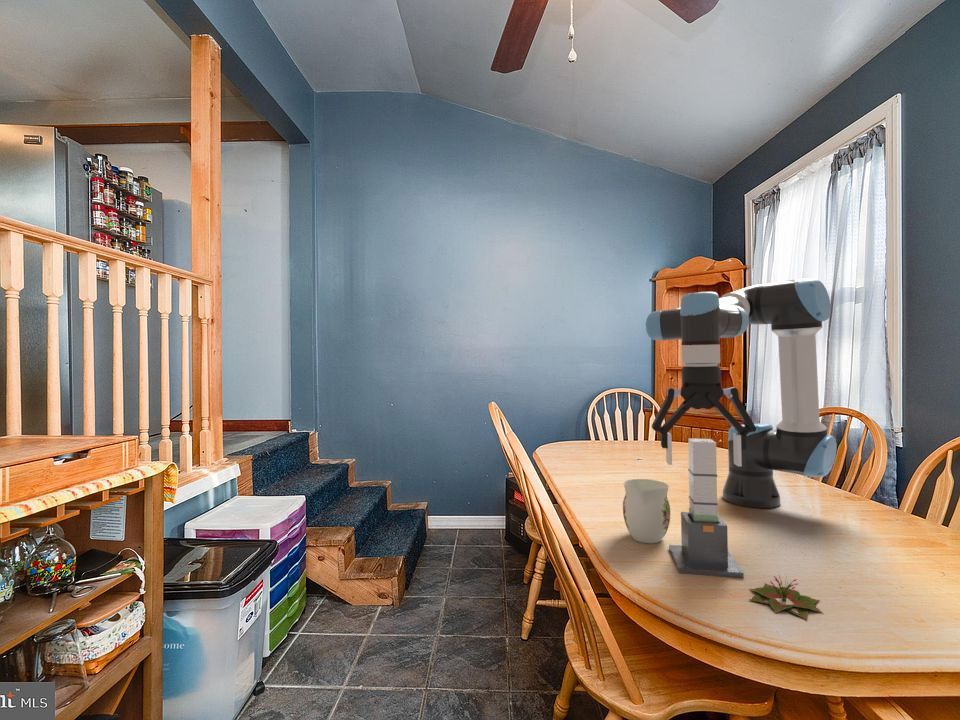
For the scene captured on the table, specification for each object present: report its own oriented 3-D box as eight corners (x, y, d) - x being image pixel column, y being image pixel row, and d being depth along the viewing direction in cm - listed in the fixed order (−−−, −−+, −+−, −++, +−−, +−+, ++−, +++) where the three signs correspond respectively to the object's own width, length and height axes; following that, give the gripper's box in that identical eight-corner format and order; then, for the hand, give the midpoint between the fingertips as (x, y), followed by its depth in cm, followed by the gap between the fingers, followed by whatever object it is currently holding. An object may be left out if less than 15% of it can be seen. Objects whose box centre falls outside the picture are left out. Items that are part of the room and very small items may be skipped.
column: (712, 521, 102) (710, 438, 102) (718, 528, 97) (716, 442, 97) (689, 519, 103) (687, 438, 103) (693, 527, 98) (692, 442, 98)
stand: (726, 553, 105) (725, 510, 105) (743, 578, 93) (742, 530, 93) (669, 549, 107) (668, 508, 107) (679, 572, 96) (678, 526, 96)
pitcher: (673, 527, 121) (672, 474, 121) (668, 554, 105) (667, 493, 105) (629, 521, 126) (628, 470, 126) (618, 546, 109) (617, 488, 109)
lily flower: (758, 581, 93) (758, 558, 93) (833, 604, 84) (832, 578, 84) (736, 603, 85) (735, 578, 85) (815, 631, 76) (815, 603, 76)
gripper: (759, 363, 101) (760, 461, 101) (637, 365, 107) (639, 458, 107) (772, 364, 94) (774, 470, 94) (641, 367, 99) (643, 466, 99)
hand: (702, 464), depth 100 cm, fingers open, 13 cm apart
